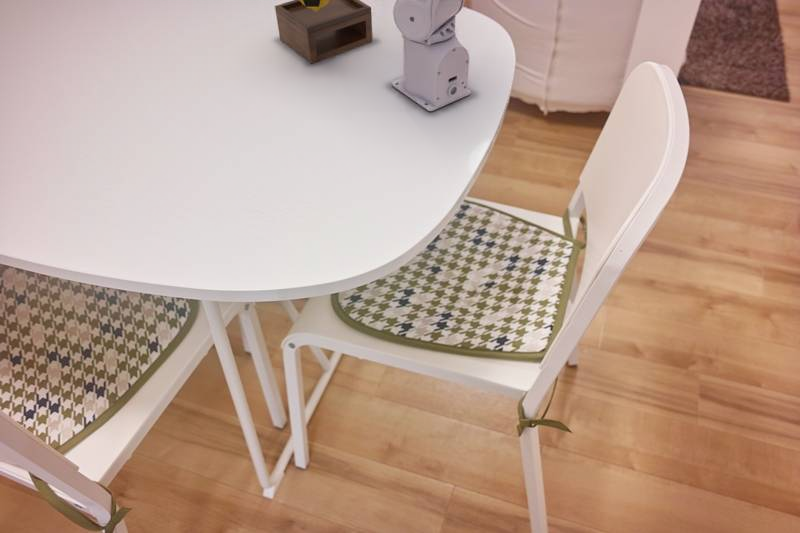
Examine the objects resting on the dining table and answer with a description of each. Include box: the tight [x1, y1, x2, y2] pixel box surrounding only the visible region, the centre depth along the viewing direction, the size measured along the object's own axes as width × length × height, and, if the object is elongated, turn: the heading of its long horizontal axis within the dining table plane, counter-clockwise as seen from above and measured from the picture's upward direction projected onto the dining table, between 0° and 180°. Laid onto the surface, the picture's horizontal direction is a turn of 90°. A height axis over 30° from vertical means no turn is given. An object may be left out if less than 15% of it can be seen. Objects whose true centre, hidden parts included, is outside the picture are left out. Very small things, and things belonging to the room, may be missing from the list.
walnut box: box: [274, 0, 374, 65], centre depth 100 cm, size 10×12×6 cm
